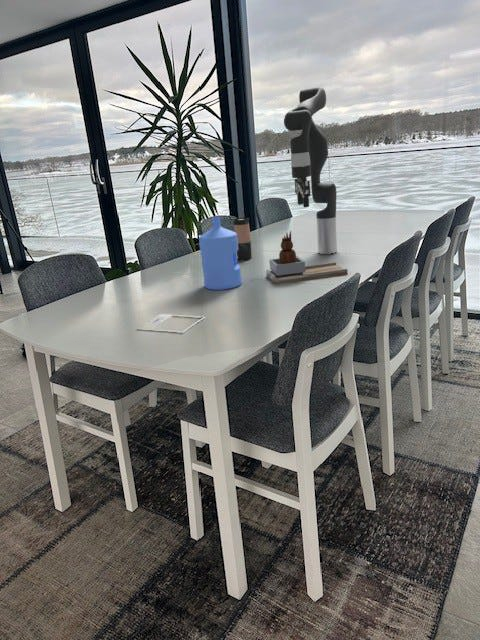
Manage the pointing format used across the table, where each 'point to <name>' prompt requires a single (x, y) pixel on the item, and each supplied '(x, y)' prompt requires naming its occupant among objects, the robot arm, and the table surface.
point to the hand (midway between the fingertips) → (303, 205)
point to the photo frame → (166, 316)
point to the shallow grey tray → (287, 267)
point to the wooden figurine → (287, 251)
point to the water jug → (220, 258)
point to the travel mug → (243, 238)
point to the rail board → (309, 273)
